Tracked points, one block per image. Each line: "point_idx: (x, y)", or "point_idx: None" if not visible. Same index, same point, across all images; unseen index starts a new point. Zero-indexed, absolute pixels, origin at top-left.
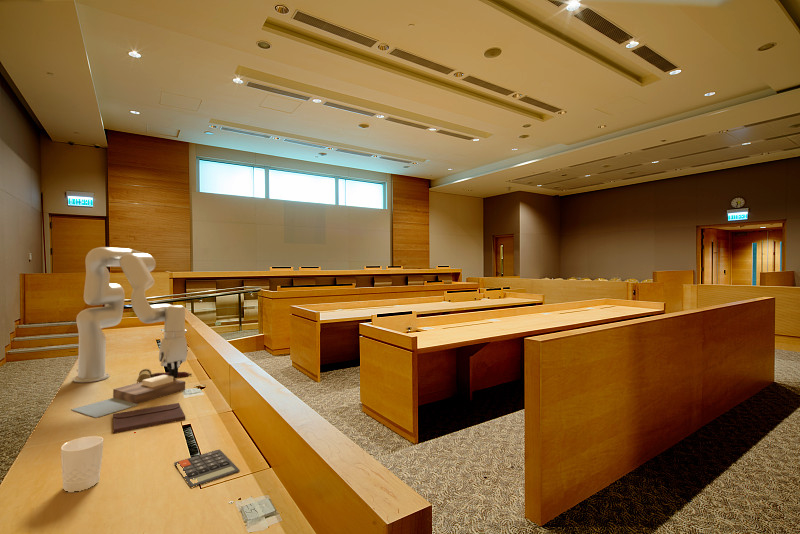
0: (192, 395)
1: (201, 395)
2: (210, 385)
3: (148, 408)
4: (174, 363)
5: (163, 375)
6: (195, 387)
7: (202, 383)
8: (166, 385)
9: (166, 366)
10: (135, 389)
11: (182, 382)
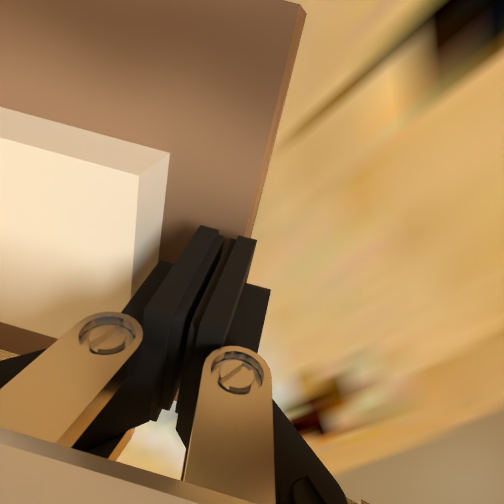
0: (145, 435)
1: (167, 470)
2: (374, 448)
3: None
4: (203, 443)
5: (99, 207)
6: (299, 384)
7: (423, 384)
8: (29, 335)
9: (6, 359)
10: None
11: (175, 396)
